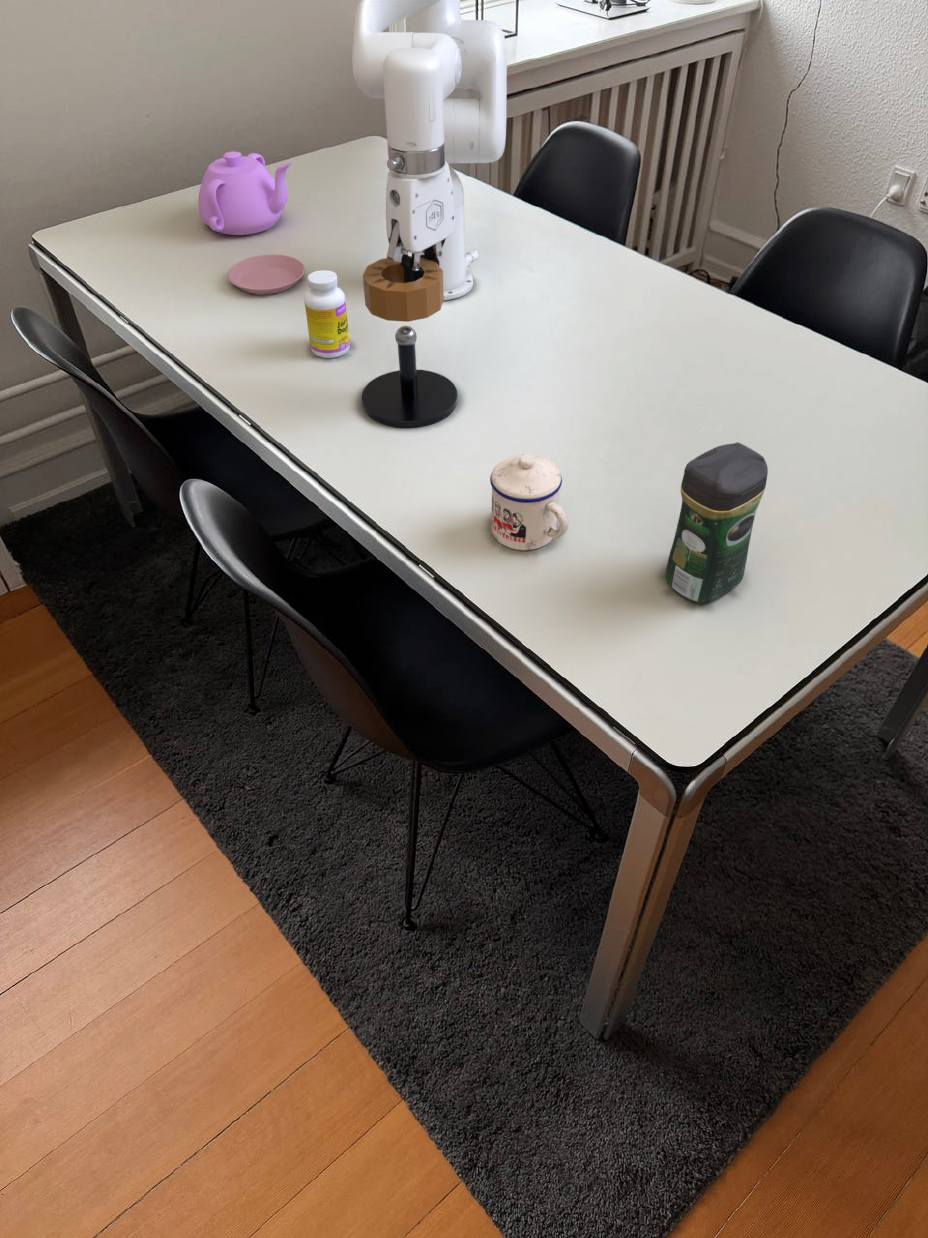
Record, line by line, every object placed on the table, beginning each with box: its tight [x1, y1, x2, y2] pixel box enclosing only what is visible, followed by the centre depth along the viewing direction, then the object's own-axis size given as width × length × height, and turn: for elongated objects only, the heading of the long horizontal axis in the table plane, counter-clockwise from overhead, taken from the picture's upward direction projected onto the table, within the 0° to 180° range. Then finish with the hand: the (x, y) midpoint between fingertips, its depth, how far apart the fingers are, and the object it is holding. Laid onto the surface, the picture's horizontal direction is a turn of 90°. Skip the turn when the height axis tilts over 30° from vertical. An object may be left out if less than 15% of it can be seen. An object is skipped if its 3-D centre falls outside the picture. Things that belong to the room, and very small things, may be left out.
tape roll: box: [362, 255, 445, 323], centre depth 135 cm, size 11×11×4 cm
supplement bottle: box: [303, 269, 351, 359], centre depth 155 cm, size 7×7×13 cm
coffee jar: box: [664, 441, 769, 604], centre depth 112 cm, size 10×8×19 cm
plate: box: [227, 254, 306, 296], centre depth 177 cm, size 14×14×2 cm
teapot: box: [197, 150, 292, 236], centre depth 191 cm, size 22×22×14 cm
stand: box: [360, 325, 459, 429], centre depth 144 cm, size 15×15×13 cm
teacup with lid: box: [489, 454, 569, 551], centre depth 121 cm, size 12×9×12 cm
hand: (422, 287), depth 138 cm, fingers closed on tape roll, 3 cm apart
